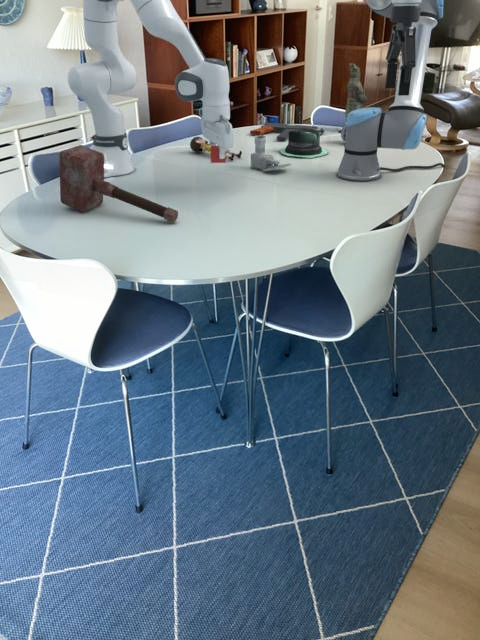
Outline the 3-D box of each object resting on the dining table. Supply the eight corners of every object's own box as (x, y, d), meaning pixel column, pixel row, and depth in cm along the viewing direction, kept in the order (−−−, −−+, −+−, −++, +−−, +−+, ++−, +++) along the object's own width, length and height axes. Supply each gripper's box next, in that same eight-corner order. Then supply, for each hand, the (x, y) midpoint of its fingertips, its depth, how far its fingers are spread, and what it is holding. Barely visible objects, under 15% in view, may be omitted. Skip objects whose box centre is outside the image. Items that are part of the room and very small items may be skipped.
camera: (261, 133, 214) (291, 139, 206) (260, 163, 220) (290, 170, 212) (246, 137, 209) (277, 143, 200) (246, 168, 215) (276, 176, 206)
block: (225, 162, 188) (225, 148, 185) (210, 163, 187) (210, 148, 185) (225, 159, 191) (225, 145, 189) (211, 159, 191) (210, 145, 188)
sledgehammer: (186, 184, 163) (79, 143, 174) (168, 194, 155) (57, 150, 167) (180, 236, 173) (79, 194, 184) (163, 248, 165) (58, 203, 177)
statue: (367, 132, 266) (374, 63, 251) (349, 133, 264) (355, 64, 249) (357, 127, 275) (362, 61, 260) (339, 129, 273) (344, 62, 258)
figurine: (227, 151, 220) (181, 135, 232) (225, 170, 224) (181, 153, 236) (247, 145, 228) (203, 130, 241) (246, 163, 233) (202, 147, 245)
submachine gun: (243, 132, 260) (267, 122, 278) (243, 138, 261) (267, 127, 280) (305, 138, 246) (326, 127, 265) (305, 144, 248) (326, 133, 266)
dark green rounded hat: (332, 145, 241) (326, 158, 224) (294, 164, 249) (286, 177, 233) (317, 113, 235) (310, 124, 219) (279, 133, 244) (269, 145, 228)
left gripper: (238, 118, 174) (238, 162, 181) (214, 107, 190) (215, 148, 197) (219, 120, 172) (220, 164, 179) (197, 109, 188) (199, 150, 195)
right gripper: (436, 5, 135) (423, 98, 146) (406, 4, 157) (397, 85, 167) (405, 6, 135) (395, 99, 146) (380, 4, 157) (372, 85, 167)
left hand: (217, 156), depth 188 cm, fingers closed on block, 5 cm apart
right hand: (396, 91), depth 157 cm, fingers open, 13 cm apart
